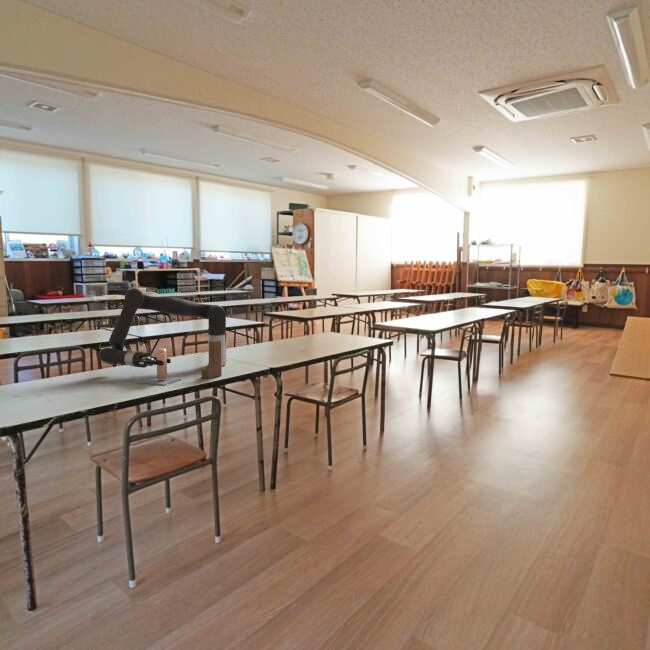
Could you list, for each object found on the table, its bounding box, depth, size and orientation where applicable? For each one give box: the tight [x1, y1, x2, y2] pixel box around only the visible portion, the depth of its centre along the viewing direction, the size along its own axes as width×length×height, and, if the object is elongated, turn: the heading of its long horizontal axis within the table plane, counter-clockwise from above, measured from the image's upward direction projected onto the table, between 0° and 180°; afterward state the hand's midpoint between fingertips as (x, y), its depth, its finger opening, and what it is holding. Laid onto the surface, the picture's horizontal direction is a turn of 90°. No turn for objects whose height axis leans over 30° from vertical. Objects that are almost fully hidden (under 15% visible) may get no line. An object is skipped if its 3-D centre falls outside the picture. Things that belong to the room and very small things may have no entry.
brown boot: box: [201, 340, 223, 380], centre depth 230 cm, size 9×4×18 cm, turn 140°
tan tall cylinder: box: [156, 347, 168, 379], centre depth 220 cm, size 4×4×14 cm
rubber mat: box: [143, 376, 182, 386], centre depth 221 cm, size 12×12×1 cm
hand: (166, 362), depth 219 cm, fingers closed on tan tall cylinder, 4 cm apart
